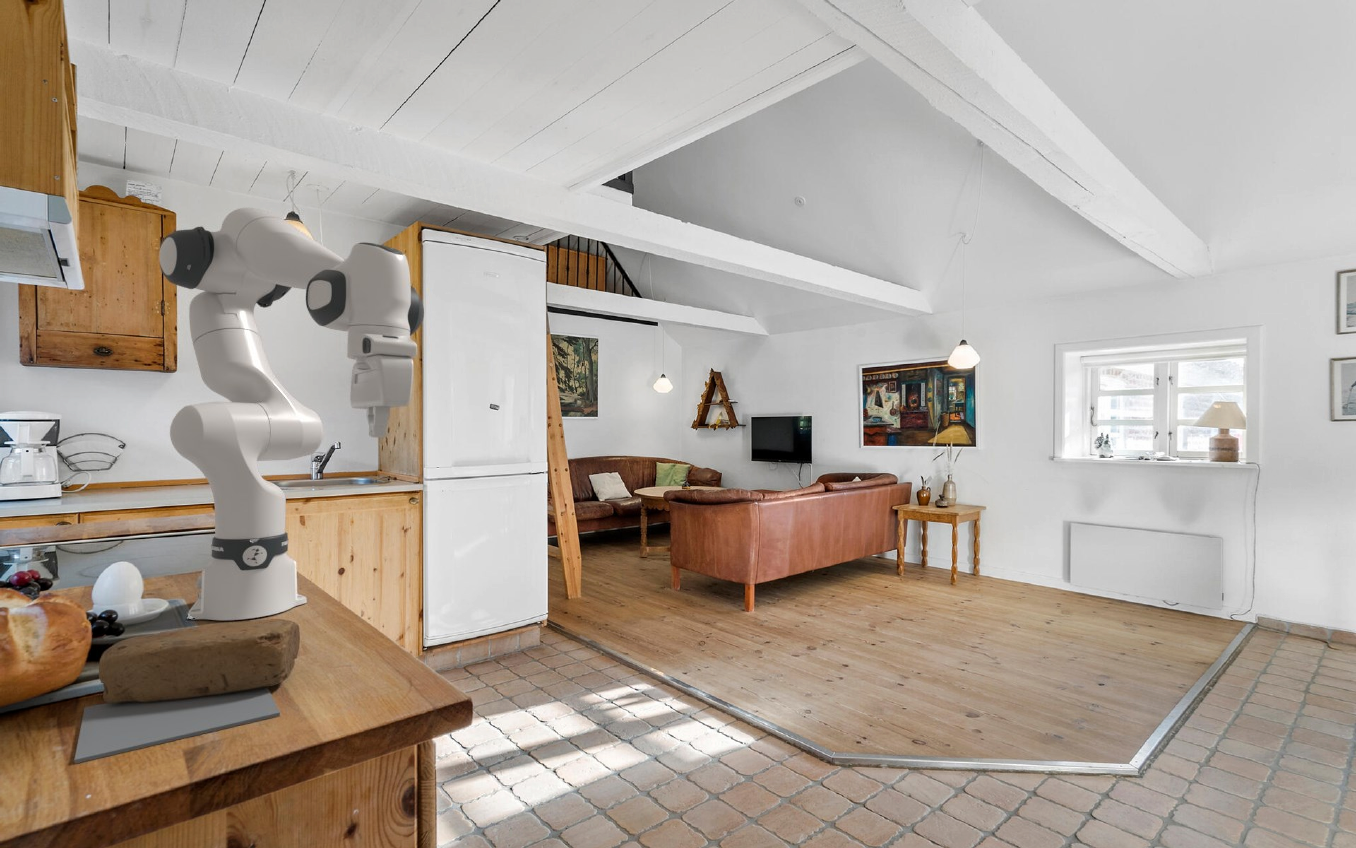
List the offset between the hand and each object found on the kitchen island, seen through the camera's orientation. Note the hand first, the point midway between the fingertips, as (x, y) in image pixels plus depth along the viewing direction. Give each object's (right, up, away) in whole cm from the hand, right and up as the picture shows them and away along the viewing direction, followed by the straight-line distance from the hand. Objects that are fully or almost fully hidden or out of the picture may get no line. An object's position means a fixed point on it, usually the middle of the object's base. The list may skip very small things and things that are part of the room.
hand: (377, 437), depth 101 cm
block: (-6, -29, -12) cm, 31 cm away
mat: (-13, -33, -23) cm, 42 cm away
